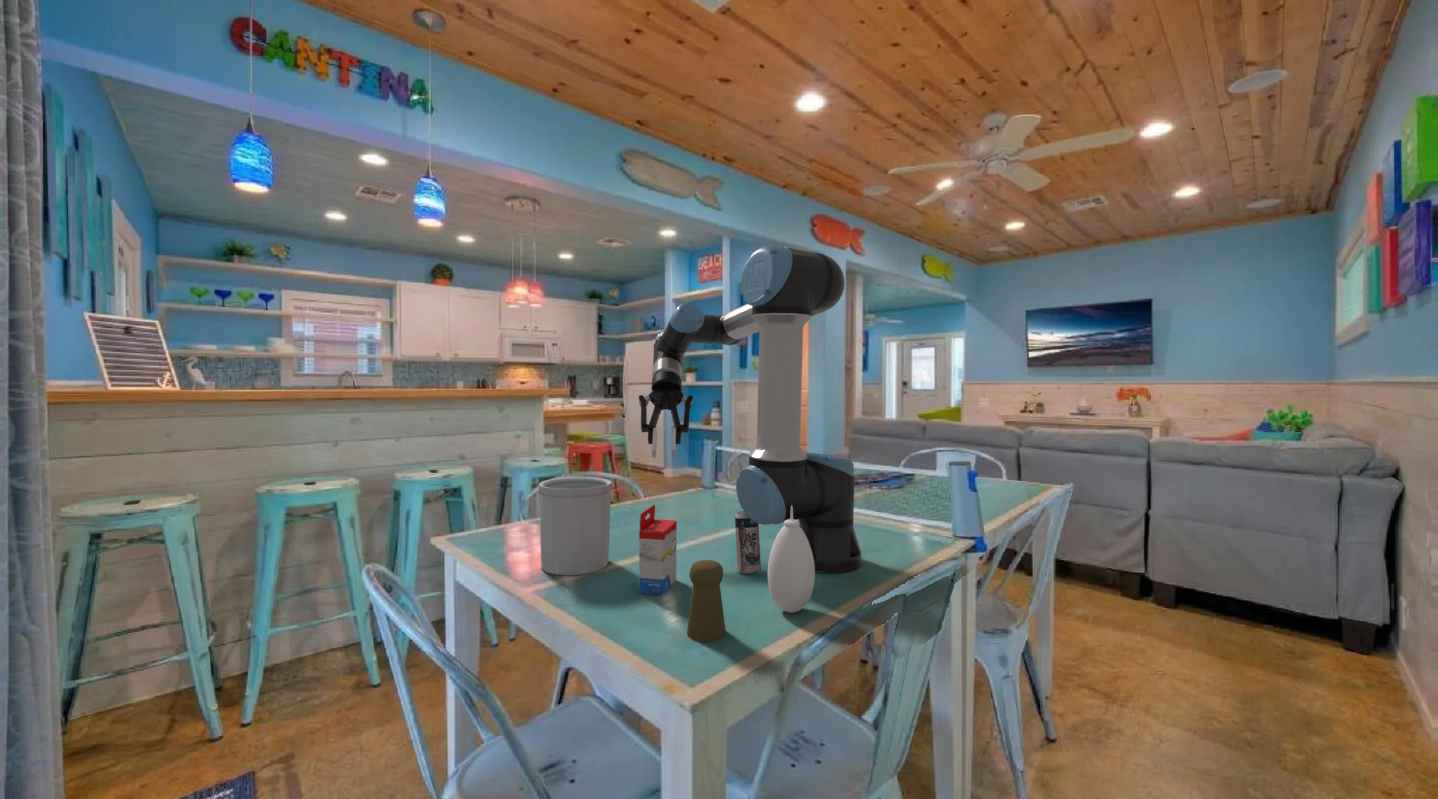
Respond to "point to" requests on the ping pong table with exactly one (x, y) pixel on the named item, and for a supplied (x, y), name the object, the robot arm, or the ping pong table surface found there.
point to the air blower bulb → (791, 567)
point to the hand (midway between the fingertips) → (663, 453)
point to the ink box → (656, 553)
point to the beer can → (747, 544)
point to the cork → (706, 602)
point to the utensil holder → (574, 524)
